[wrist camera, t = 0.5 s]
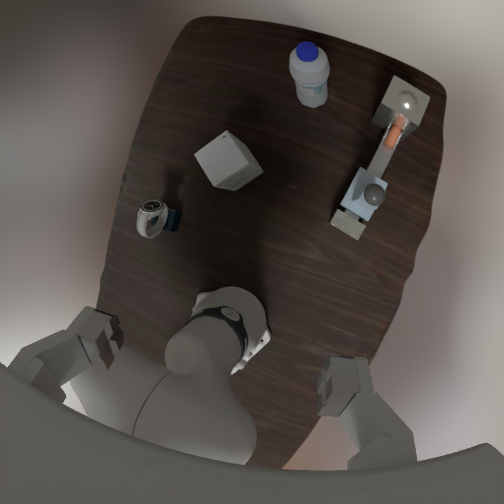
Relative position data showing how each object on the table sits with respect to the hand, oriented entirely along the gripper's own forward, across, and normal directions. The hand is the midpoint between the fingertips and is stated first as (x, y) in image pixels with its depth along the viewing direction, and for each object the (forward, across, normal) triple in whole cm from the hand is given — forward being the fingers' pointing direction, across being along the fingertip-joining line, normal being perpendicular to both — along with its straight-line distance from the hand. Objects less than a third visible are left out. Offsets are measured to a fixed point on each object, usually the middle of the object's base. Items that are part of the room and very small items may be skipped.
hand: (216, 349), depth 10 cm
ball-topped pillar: (+45, +17, -5) cm, 49 cm away
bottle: (+54, +6, +12) cm, 56 cm away
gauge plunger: (+46, +22, +9) cm, 52 cm away
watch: (+48, -22, -17) cm, 56 cm away
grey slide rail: (+48, +19, +1) cm, 51 cm away
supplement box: (+50, -7, -5) cm, 51 cm away
